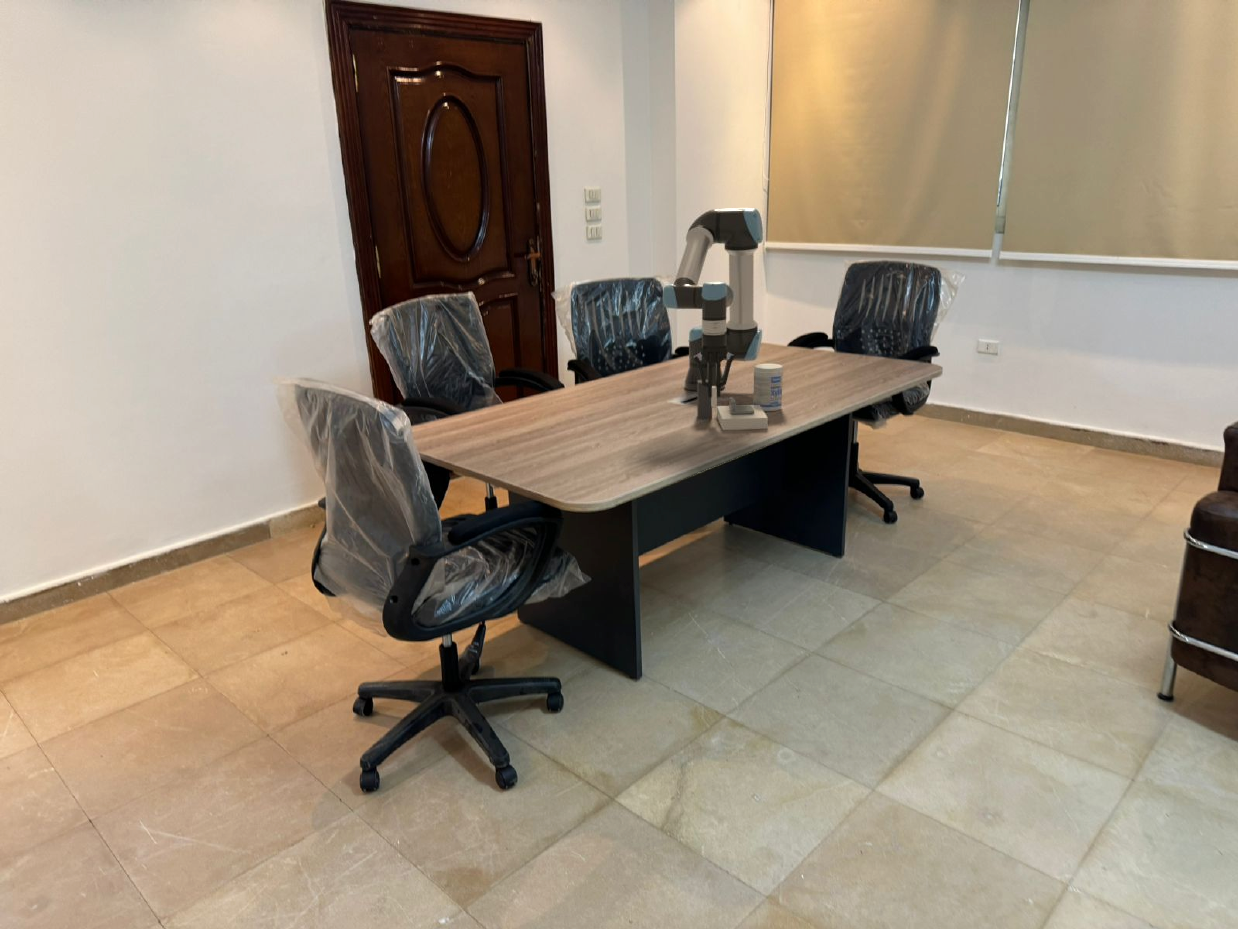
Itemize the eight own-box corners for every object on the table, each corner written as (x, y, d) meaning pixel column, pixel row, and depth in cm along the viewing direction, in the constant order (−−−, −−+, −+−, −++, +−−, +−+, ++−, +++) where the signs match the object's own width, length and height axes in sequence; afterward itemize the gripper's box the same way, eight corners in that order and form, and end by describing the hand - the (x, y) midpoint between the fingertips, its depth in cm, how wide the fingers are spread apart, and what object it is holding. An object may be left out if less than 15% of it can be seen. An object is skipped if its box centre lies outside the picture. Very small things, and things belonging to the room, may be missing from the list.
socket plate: (716, 416, 268) (716, 406, 267) (759, 415, 268) (759, 404, 267) (722, 430, 253) (722, 419, 252) (767, 428, 253) (767, 417, 252)
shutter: (729, 408, 263) (729, 396, 261) (750, 407, 262) (751, 396, 261) (731, 414, 256) (732, 402, 255) (754, 413, 256) (754, 401, 255)
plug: (697, 415, 270) (697, 379, 266) (710, 414, 270) (710, 379, 266) (698, 418, 266) (698, 383, 262) (712, 418, 266) (712, 382, 262)
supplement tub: (776, 413, 269) (777, 369, 265) (748, 410, 274) (749, 367, 269) (785, 406, 277) (786, 364, 272) (759, 403, 282) (759, 362, 277)
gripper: (694, 335, 248) (694, 410, 255) (736, 334, 248) (735, 409, 255) (692, 331, 255) (692, 404, 263) (733, 330, 255) (732, 403, 262)
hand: (713, 406), depth 259 cm, fingers closed
